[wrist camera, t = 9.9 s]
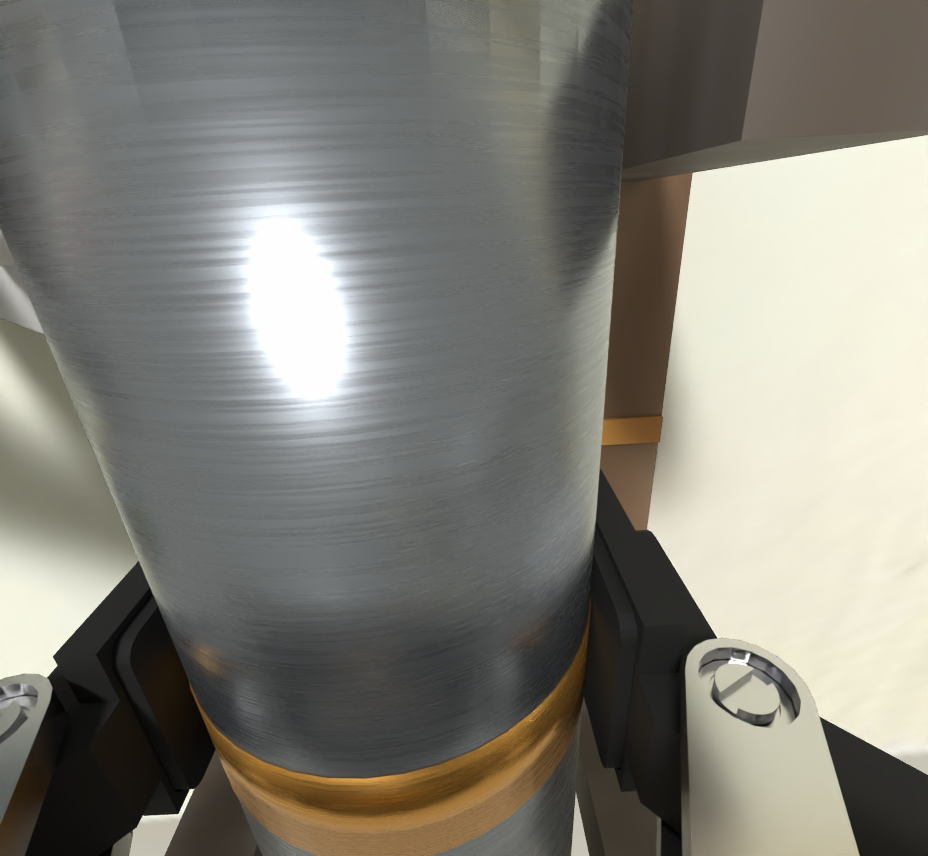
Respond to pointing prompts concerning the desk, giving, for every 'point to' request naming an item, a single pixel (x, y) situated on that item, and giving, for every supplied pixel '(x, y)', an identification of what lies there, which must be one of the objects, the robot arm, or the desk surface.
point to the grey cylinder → (342, 377)
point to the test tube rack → (14, 293)
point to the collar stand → (661, 243)
